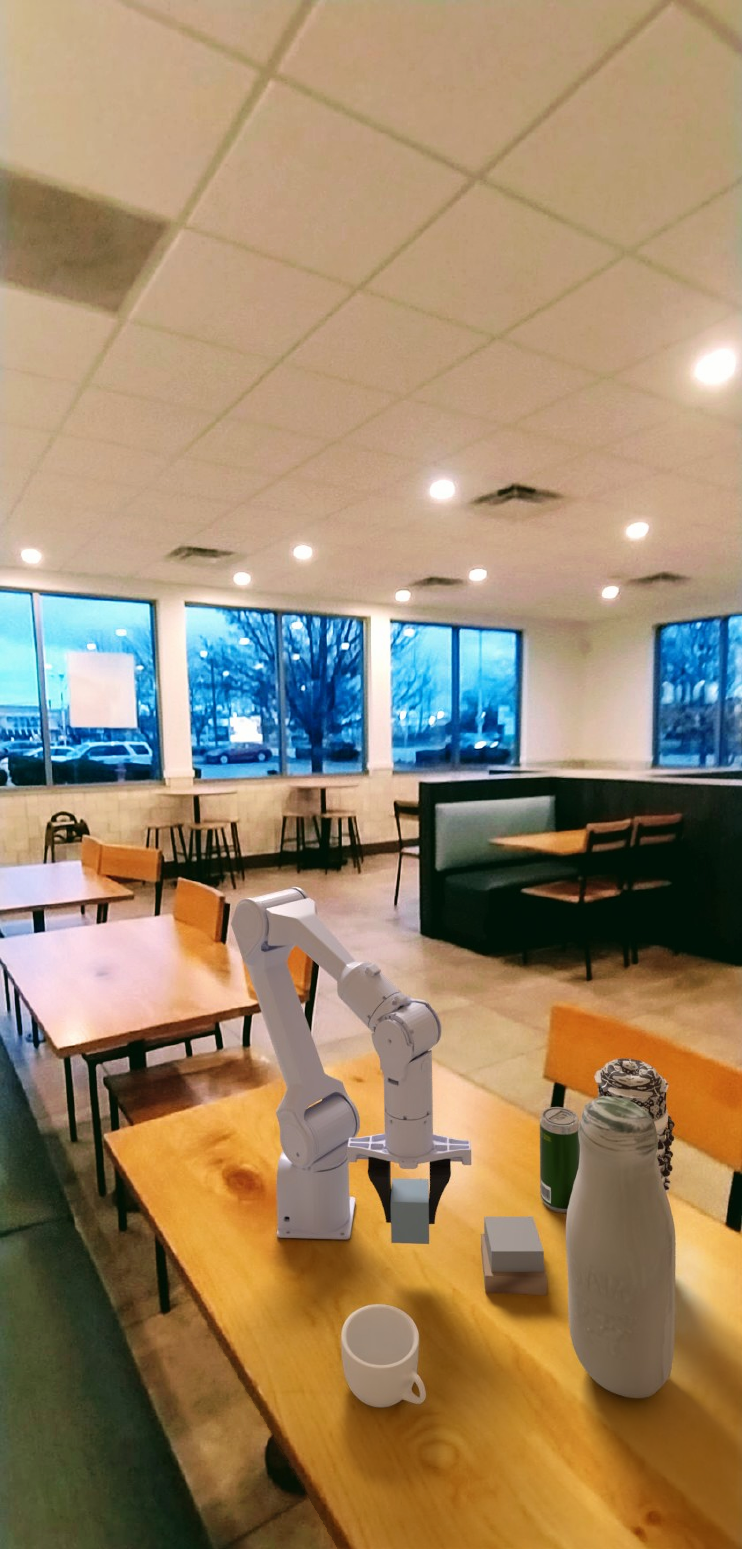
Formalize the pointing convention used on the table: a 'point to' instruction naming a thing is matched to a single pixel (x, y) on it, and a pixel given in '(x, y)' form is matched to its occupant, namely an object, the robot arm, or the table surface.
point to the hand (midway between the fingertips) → (410, 1217)
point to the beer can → (558, 1156)
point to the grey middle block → (513, 1244)
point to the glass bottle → (621, 1252)
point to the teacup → (381, 1355)
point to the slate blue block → (410, 1211)
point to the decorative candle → (641, 1101)
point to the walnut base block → (511, 1279)
